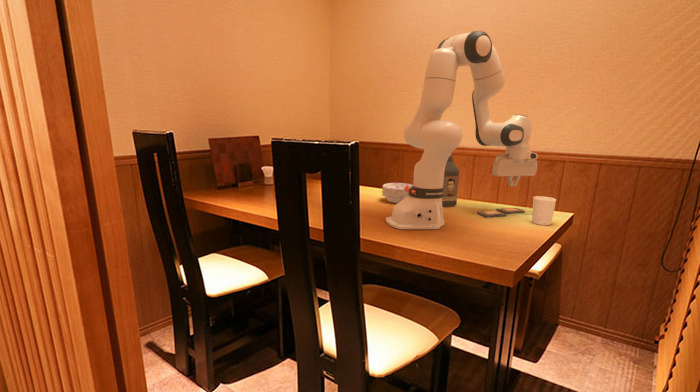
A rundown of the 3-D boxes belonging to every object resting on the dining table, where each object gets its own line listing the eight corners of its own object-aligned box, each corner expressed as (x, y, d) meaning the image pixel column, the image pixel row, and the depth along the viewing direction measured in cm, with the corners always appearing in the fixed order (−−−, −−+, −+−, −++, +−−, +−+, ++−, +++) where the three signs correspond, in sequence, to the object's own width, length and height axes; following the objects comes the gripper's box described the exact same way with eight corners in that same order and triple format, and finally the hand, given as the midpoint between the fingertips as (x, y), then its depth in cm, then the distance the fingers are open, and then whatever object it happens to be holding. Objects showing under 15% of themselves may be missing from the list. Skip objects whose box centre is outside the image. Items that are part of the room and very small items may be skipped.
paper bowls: (378, 203, 173) (379, 186, 171) (385, 197, 187) (386, 181, 186) (411, 206, 169) (412, 189, 167) (415, 199, 183) (416, 183, 181)
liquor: (431, 202, 176) (435, 139, 170) (448, 202, 178) (453, 139, 172) (440, 207, 168) (445, 140, 161) (458, 206, 170) (464, 141, 163)
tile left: (485, 217, 152) (486, 214, 152) (477, 214, 158) (477, 211, 157) (506, 216, 155) (506, 213, 155) (496, 212, 160) (497, 210, 160)
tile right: (505, 214, 158) (505, 211, 158) (496, 210, 164) (496, 208, 164) (524, 213, 161) (525, 210, 161) (515, 209, 167) (515, 207, 166)
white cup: (556, 226, 142) (559, 201, 140) (534, 225, 143) (537, 200, 141) (547, 220, 150) (551, 196, 147) (527, 219, 150) (530, 195, 148)
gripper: (500, 154, 151) (496, 188, 154) (541, 154, 157) (537, 187, 160) (490, 153, 157) (487, 185, 160) (530, 153, 163) (526, 184, 166)
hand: (512, 186), depth 160 cm, fingers closed
